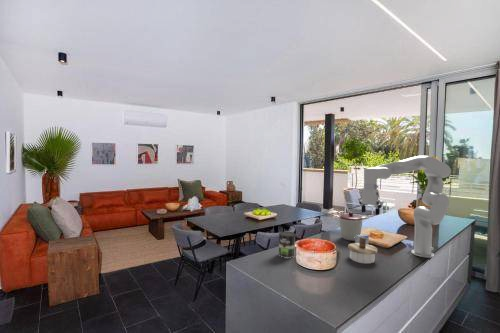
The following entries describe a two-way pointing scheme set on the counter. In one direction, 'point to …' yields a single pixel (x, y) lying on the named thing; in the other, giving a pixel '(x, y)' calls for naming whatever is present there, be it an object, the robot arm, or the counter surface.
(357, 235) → the medicine box
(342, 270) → the counter surface
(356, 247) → the oak lid
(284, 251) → the coffee can
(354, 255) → the cream bowl
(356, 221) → the canister
